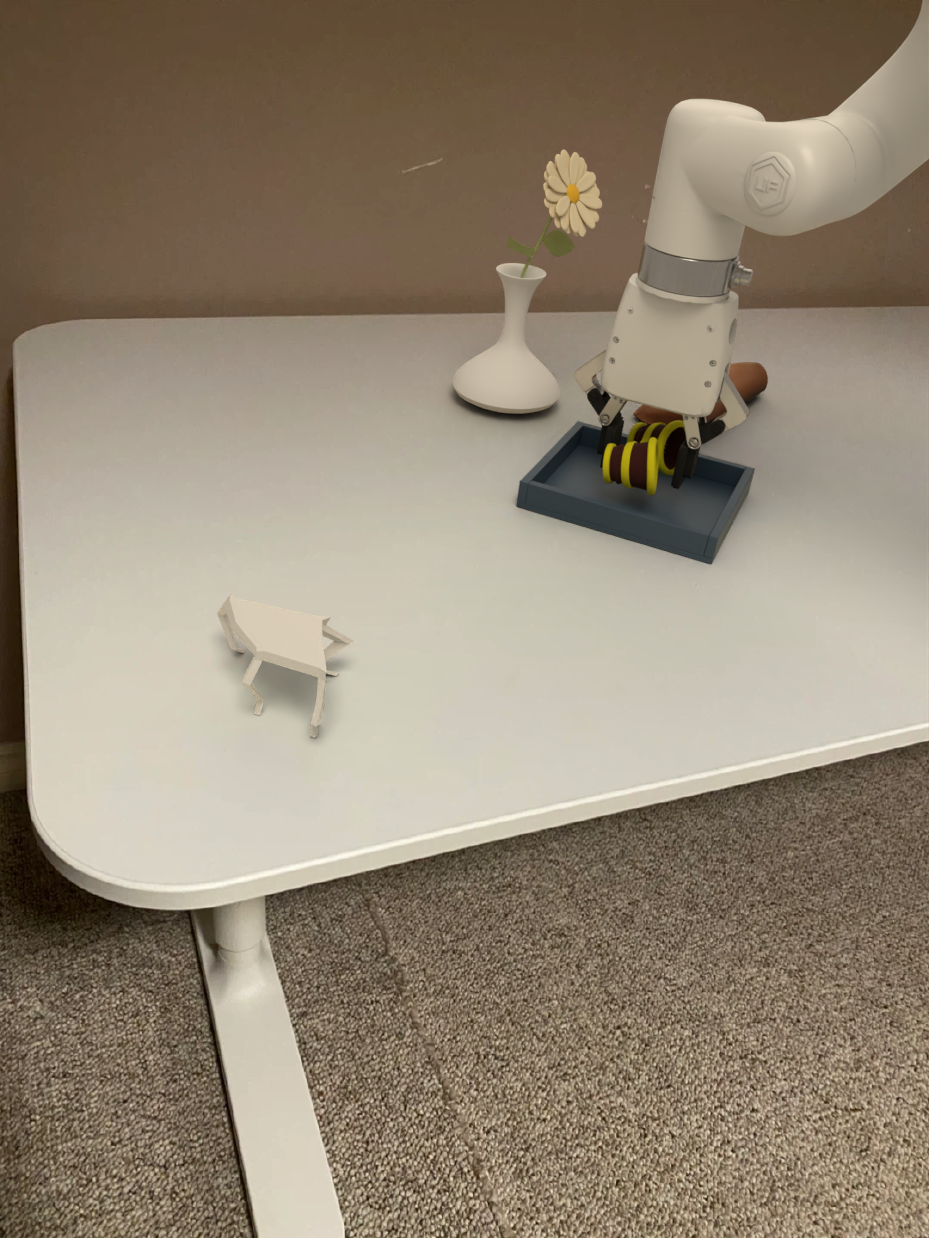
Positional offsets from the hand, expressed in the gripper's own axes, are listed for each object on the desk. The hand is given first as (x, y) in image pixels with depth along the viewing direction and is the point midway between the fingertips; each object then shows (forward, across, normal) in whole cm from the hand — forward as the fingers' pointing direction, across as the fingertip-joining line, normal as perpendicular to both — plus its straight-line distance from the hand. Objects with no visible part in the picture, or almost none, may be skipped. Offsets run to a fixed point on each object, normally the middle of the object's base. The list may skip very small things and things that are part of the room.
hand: (643, 471), depth 97 cm
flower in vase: (+3, +18, -14) cm, 23 cm away
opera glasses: (+1, 0, 0) cm, 1 cm away
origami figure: (+3, +13, +40) cm, 42 cm away
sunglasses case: (+3, 0, -25) cm, 25 cm away
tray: (+3, 0, 0) cm, 3 cm away
